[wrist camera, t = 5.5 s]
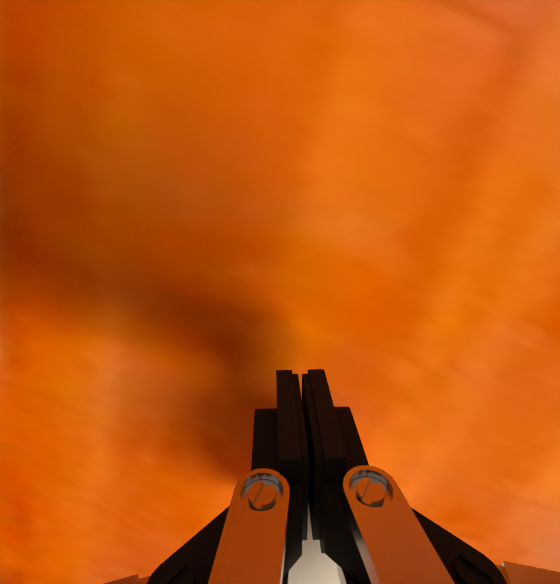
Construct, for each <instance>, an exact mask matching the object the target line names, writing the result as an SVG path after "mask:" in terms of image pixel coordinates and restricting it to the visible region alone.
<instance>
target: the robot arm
mask: <svg viewBox="0 0 560 584" xmlns="http://www.w3.org/2000/svg"><path fill="white" fill-rule="evenodd" d="M276 377H277V408H275V409H255V416H254V433H253V450H252V467H251V471H249V472H248V473H246V474H244V475H243V476H242V477H241V478H240V479H239V480H238V482H237V484H236V486H235V489H234V492H233V496H232V499H231V503H230V506H229V507H228V508H227V509H225V510H224V511H223V512H222V513H221V514H219V515H218V516H217V517H216V518H215V519H214V520H212V521H211V522H210V523H209V524H208V525H207V526H205V527H204V528H203V529H202V530H201V531H199V532H198V533H197V534H196V535H195V536H194V537H192V538H191V539H190V540H189V541H188V542H187V543H185V544H184V545H183V546H182V547H181V548H179V549H178V550H177V551H176V552H175V553H174V554H172V555H171V556H170V557H169V558H168V559H167V560H165V561H164V562H163V563H162V564H161V565H160V566H159V567H158V568H157V569H156V570H155V571H154V572H153V573H152V575H151V576H148V577H144V578H141V579H139V576H138V574H137V575H133V576H129V577H126V578H122V579H119V580H115V581H112V582H108V583H105V584H289V570H290V569H291V568H292V566H293V565H294V564H295V563H296V562H297V561H298V559H299V558H300V557H301V556H302V540H307V529H308V504H309V513H310V522H311V530H312V538H313V540H320V547H321V553H325V554H326V555H327V556H328V557H329V558H330V559H332V560H333V561H334V562H335V563H336V564H337V570H338V576H339V579H340V583H341V584H560V572H556V571H551V570H546V569H541V568H536V567H531V566H526V565H521V564H516V563H511V562H506V561H502V565H501V566H500V565H495V564H494V563H493V562H492V561H491V560H490V559H488V558H487V557H486V556H484V555H483V554H482V553H480V552H479V551H477V550H476V549H474V548H473V547H471V546H470V545H468V544H467V543H465V542H463V541H462V540H460V539H459V538H457V537H456V536H454V535H453V534H451V533H450V532H448V531H446V530H445V529H443V528H442V527H440V526H439V525H437V524H436V523H434V522H433V521H431V520H429V519H428V518H426V517H425V516H423V515H422V514H420V513H419V512H417V511H415V510H414V509H412V508H411V507H410V506H409V504H408V502H407V500H406V499H405V497H404V495H403V493H402V492H401V490H400V488H399V487H398V485H397V483H396V482H395V480H394V479H393V478H392V477H391V476H390V475H389V474H388V473H386V472H385V471H383V470H381V469H379V468H377V467H373V466H369V464H368V461H367V458H366V455H365V452H364V449H363V446H362V443H361V440H360V437H359V434H358V431H357V428H356V425H355V422H354V419H353V416H352V413H351V410H350V408H349V407H334V405H333V401H332V398H331V394H330V390H329V386H328V383H327V379H326V375H325V371H324V369H312V370H308V374H302V401H301V393H300V386H299V379H298V374H292V370H276Z"/></svg>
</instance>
